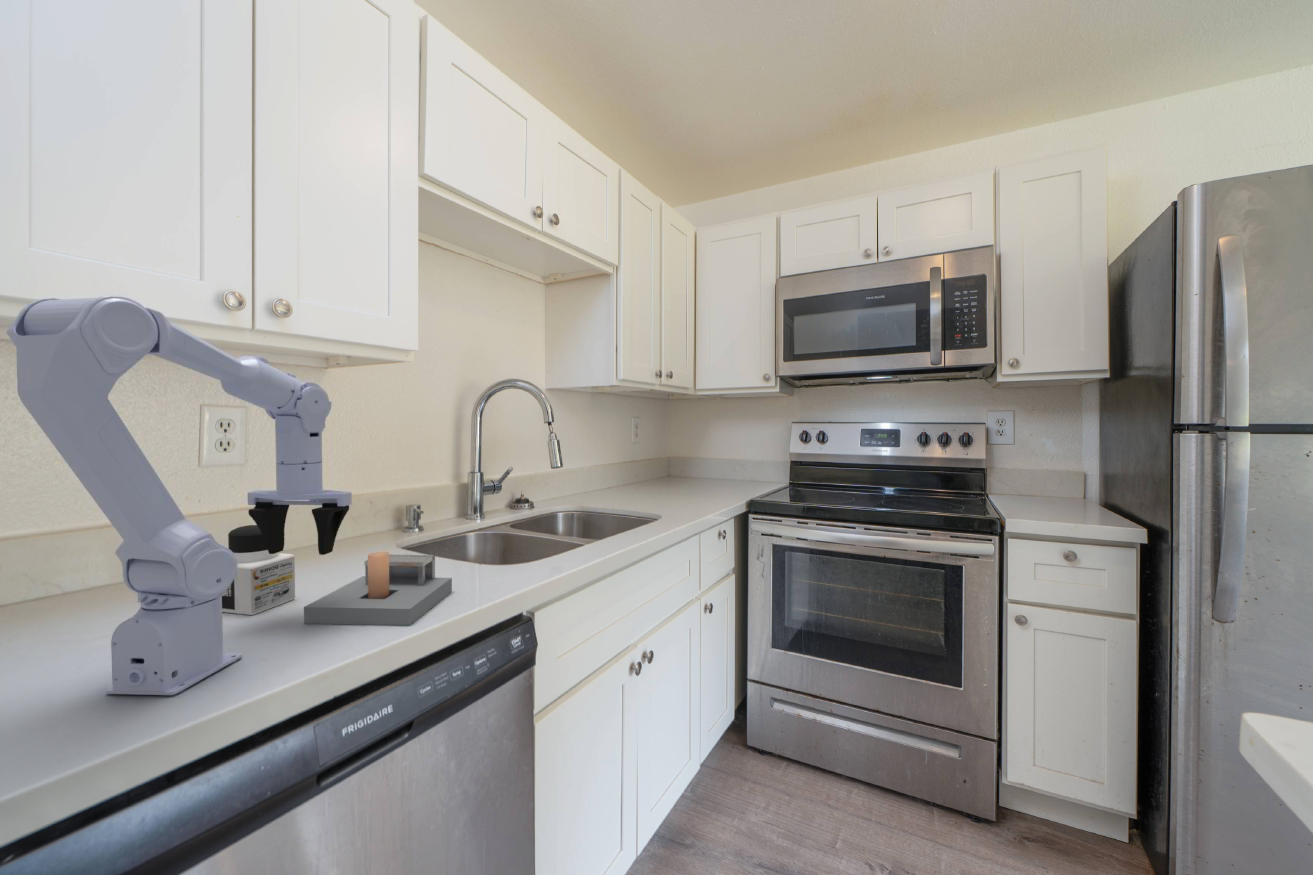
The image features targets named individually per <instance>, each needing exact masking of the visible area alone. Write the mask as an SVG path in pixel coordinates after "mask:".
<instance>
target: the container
mask: <svg viewBox="0 0 1313 875" xmlns="http://www.w3.org/2000/svg"><path fill="white" fill-rule="evenodd" d="M227 535H228V539H227V540H228V542H227V544H228V549H230V550H231V551H232V552H233V553H234V555H235V556H236V559H237V573H236V576H235V578H234V580H233V582H232V583H231V585H230V586H229V587H228V588H227V589H226V590H225V591H226V595H224V596H222V613H226V614H227V613H229V614H235V615H236V614H238V615H246V616H255V615H257V614H259V613H260V614H261V613H262V612H264V611H265V612H266V611H268V610H270V609H273V608H275V607H278V606H280V605H282V604H286V603H288V602H291V601H294V600H295V598H296V578H295V576H296V574H295V573H296V572H295V569H296V567H295V555H294V554H292V553H282V552H278V553H275V554H269V552H268V549H267V546H266V543H265V540H264V538H263V535H262V533H261V531H260V529H259V527H258V526H257V524H249V525H243V526H238V527H236V528H234V529H232V530H230V531H229V532H228V534H227Z"/></svg>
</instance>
